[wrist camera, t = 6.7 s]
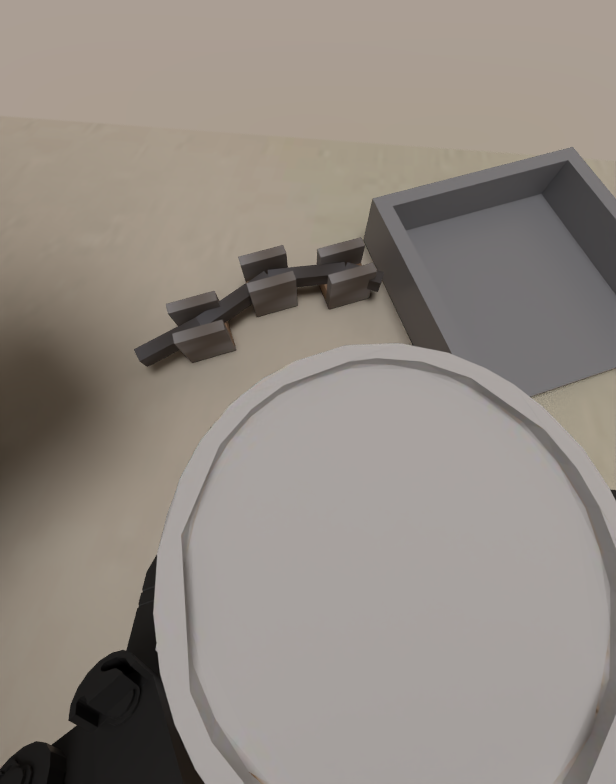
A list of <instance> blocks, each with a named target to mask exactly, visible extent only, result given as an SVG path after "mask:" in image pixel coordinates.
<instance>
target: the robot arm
mask: <svg viewBox="0 0 616 784" xmlns="http://www.w3.org/2000/svg"><path fill="white" fill-rule="evenodd" d="M611 492H612V494H613V496H614V498H615V500H616V490H611ZM156 567H157V555H156V557H155V559H154V561H153V562H152V564H151V566H150V567H149V569H148V571H147V573H146V577H145V581H144V585H143V589H142V590H143V593H141V596H140V600H139V608H137V612H136V616H135V620H134V623H133V627H132V631H131V635H130V639H129V643H128V647H127V651H125V650H121V651H117V652H113V653H111V654H109V655H108V656H106V657H105V658H103V659H102V660H100V661H99V662H98V663H97V664H96V665H95V666H94V667H93V668H92V669H91V670H90V671H89V672H88V674H87V675H86V677H85V678H84V680H83V681H82V683H81V684H80V685H79V687H78V689H77V691H76V693H75V696H74V698H73V700H72V703H71V706H70V713H69V721H71V722H72V723H74V724H76V725H77V726H76V727H74V728H73V729H72V730H70V731H69V732H68V733H67V734H65V735H64V736H63V737H61V738H60V739H59V740H57V741H56V742H55V743H53V744H52V745H49V744H47V743H44V742H37V741H36V742H34V743H31V744H29V745H27V746H24V747H23V748H22V749H20V750H19V751H18V752H17V753H16V754H14V755H13V756H12V757H11V758H9V759H8V761H7V762H6V763H5V764H4V765H3V766H2V768H1V769H0V784H205V783H204V781H203V780H202V778H201V777H200V776H199V774H198V773H197V771H196V770H195V768H194V765H193V763H192V761H191V759H190V757H189V755H188V752H187V750H186V748H185V746H184V744H183V741H182V739H181V737H180V735H179V733H178V730H177V728H176V726H175V724H174V720H173V717H172V713H171V710H170V706H169V703H168V699H167V696H166V692H165V689H164V685H163V682H162V678H161V675H160V669H159V660H158V651H157V642H156V633H155V624H154V615H153V611H154V596H155V581H156Z"/></svg>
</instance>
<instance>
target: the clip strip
mask: <svg viewBox="0 0 616 784" xmlns="http://www.w3.org/2000/svg"><path fill="white" fill-rule="evenodd" d="M364 247H365V245H364V243H363V240H362V238H361V237H360V238H356V239H353V240H349V241H345V242H342V243H338V244H334V245H330V246H327V247H323V248H319V249H317V265H310V266H300V267H291V268H288V266H287V256H286V251H285V249H284V246H283V245H281V246H277V247H274V248H270V249H266V250H262V251H259V252H255V253H251V254H247V255H243V256H240V257H238V258H239V261H240V265H241V268H242V271H243V274H244V278H245V281H246V284H244V285H243V286H241V287H240V288H238V289H237V290H235V291H234V292H232V293H231V294H229V295H228V296H226V297H225V298H223V299H222V300H221V301H219V299H218V297H217V295H216V293H215V291H212V292H208V293H204V294H201V295H197V296H193V297H190V298H186V299H182V300H179V301H175V302H172V303H168V304H166V307H167V312H168V314H169V316H170V317H171V318H172V319H173V320H174V322H175V323H176V324H177V325H178V327H176V328H174V329H172V330H170V331H168V332H167V333H165V334H163V335H161V336H159V337H157V338H155V339H153V340H151V341H149V342H147V343H145V344H143V345H142V346H140V347H138V348H136V349H134V351H135V353H136V355H137V357H138V359H139V361H140V362H141V363H143V364H144V365H145V366H147V367H148V366H150V365H152V364H154V363H156V362H158V361H160V360H161V359H163V358H165V357H167V356H169V355H171V354H173V353H175V352H176V351H178V350H181V351H182V352H183V354H184V355H185V356H186V357H187V358H188V359H189V360H190V361H191V362H192V363H194V362H197V361H200V360H204V359H207V358H211V357H214V356H217V355H221V354H224V353H228V352H231V351H234V350H236V348H235V344H234V341H233V337H232V334H231V330H230V327H229V323H228V320H230V319H231V318H233V317H234V316H235V315H237V314H238V313H240V312H241V311H243V310H244V309H245V308H247V307H248V306H250V305H251V304H253V306H254V309H255V313H256V316H257V317H259V316H262V315H266V314H270V313H273V312H277V311H280V310H284V309H287V308H291V307H294V306H298V302H297V287H304V286H314V285H319V286H320V288H321V291H322V293H323V296H324V298H325V301H326V303H327V306H328V308H329V309H332V308H336V307H339V306H343V305H346V304H350V303H353V302H356V301H360V300H363V299H367V298H369V295H370V292H371V290H372V291H376V292H378V290H379V287H380V284H381V281H382V278H383V275H384V272H381V271H377V270H376V268H375V266H374V264H373V263H370V264H366V265H362V264H361V260H362V256H363V252H364Z"/></svg>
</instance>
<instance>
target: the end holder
mask: <svg viewBox="0 0 616 784" xmlns="http://www.w3.org/2000/svg"><path fill="white" fill-rule="evenodd" d="M364 242H365V245H366V247H367V249H368V251H369V253H370V255H371V257H372V259H373V261H374V264H375V266H376V268H377V270H378V271H381V272H384V275H383V278H382V280H383V283H384V285H385V287H386V289H387V291H388V293H389V295H390V297H391V299H392V302H393V304H394V306H395V308H396V310H397V312H398V314H399V316H400V318H401V320H402V323H403V325H404V327H405V329H406V331H407V333H408V335H409V337H410V339H411V342H412V344H413V346H416V347H421V348H426V349H432V350H437V351H442V352H447V353H450V354H452V355H455V356H457V357H460V358H462V359H464V360H467V361H469V362H472V363H474V364H477V365H479V366H481V367H484V368H486V369H488V370H490V371H491V372H493V373H495V374H497V375H498V376H500V377H502V378H504V379H505V380H507V381H509V382H511V383H512V384H514V385H515V386H517V387H518V388H519V389H520V390H522V391H523V392H524V393H526V394H527V395H528V396H529V397H532V396H535V395H538V394H541V393H544V392H547V391H550V390H553V389H556V388H559V387H562V386H565V385H568V384H571V383H574V382H577V381H580V380H583V379H586V378H588V377H591V376H594V375H597V374H600V373H603V372H606V371H609V370H612V369H615V368H616V199H615V197H614V196H613V195H612V194H611V193H610V191H609V190H608V189H607V188H606V186H605V185H604V184H603V183H602V182H601V180H600V179H599V178H598V177H597V176H596V174H595V173H594V172H593V171H592V170H591V168H590V167H589V166H588V165H587V164H586V162H585V161H584V160H583V159H582V157H581V156H580V155H579V154H578V153H577V151H576V150H575V149H574V148H573V147H570V148H567V149H563V150H559V151H556V152H552V153H547V154H543V155H540V156H536V157H532V158H528V159H524V160H520V161H516V162H512V163H509V164H505V165H501V166H497V167H493V168H489V169H485V170H481V171H478V172H474V173H470V174H466V175H462V176H458V177H454V178H450V179H447V180H443V181H439V182H435V183H431V184H427V185H423V186H419V187H416V188H412V189H408V190H404V191H400V192H396V193H392V194H389V195H385V196H381V197H377V198H373V199H372V204H371V208H370V213H369V217H368V222H367V226H366V231H365V235H364Z"/></svg>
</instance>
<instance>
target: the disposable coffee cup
mask: <svg viewBox="0 0 616 784" xmlns="http://www.w3.org/2000/svg"><path fill="white" fill-rule="evenodd" d="M153 615H154V624H155V633H156V642H157V651H158V660H159V669H160V675H161V678H162V682H163V685H164V689H165V692H166V696H167V699H168V703H169V706H170V710H171V713H172V717H173V720H174V724H175V726H176V728H177V730H178V733H179V735H180V737H181V739H182V741H183V744H184V746H185V748H186V750H187V752H188V755H189V757H190V759H191V761H192V763H193V765H194V768H195V770H196V771H197V773H198V774H199V776H200V777H201V778H202V780H203V781H204V783H205V784H616V500H615V498H614V496H613V494H612V492H611V490H610V488H609V487H608V485H607V484H606V482H605V481H604V479H603V478H602V476H601V475H600V473H599V472H598V470H597V469H596V467H595V465H594V464H593V462H592V461H591V459H590V458H589V456H588V455H587V453H586V452H585V450H584V449H583V448H582V447H581V445H580V444H579V443H578V442H577V441H576V440H575V439H574V438H573V437H572V436H571V435H570V434H569V433H568V432H567V431H566V430H565V429H564V428H563V427H562V426H561V425H560V424H559V423H558V422H557V421H556V420H555V419H554V418H553V417H552V415H551V414H550V413H549V412H548V411H547V410H546V409H545V408H544V407H542V406H541V405H540V404H539V403H537V402H536V401H535V400H533V399H532V398H531V397H529V396H528V395H527V394H526V393H524V392H523V391H522V390H520V389H519V388H518V387H517V386H515V385H514V384H512V383H511V382H509V381H507V380H505V379H504V378H502V377H500V376H498V375H497V374H495V373H493V372H491V371H490V370H488V369H486V368H484V367H481V366H479V365H477V364H474V363H472V362H469V361H467V360H464V359H462V358H460V357H457V356H455V355H452V354H450V353H447V352H442V351H437V350H432V349H426V348H421V347H416V346H411V345H406V344H401V343H391V344H363V345H345V346H342V347H339V348H335V349H332V350H329V351H326V352H323V353H319V354H316V355H313V356H310V357H307V358H304V359H300V360H297V361H294V362H291V363H289V364H288V365H286V366H285V367H283V368H282V369H280V370H278V371H276V372H274V373H272V374H270V375H268V376H267V377H265V378H263V379H261V380H260V381H259V382H257V383H256V384H255V385H254V386H252V387H251V388H250V389H249V390H247V391H246V392H245V393H244V394H242V395H241V396H240V397H239V398H237V399H236V400H235V401H234V402H232V403H231V404H230V405H229V406H228V407H227V408H226V410H225V411H224V412H223V413H222V415H221V416H220V417H219V418H218V419H217V421H216V422H215V423H214V424H213V426H212V427H211V428H210V429H209V430H208V432H207V433H206V434H205V435H204V437H203V438H202V439H201V440H200V442H199V444H198V446H197V448H196V449H195V451H194V453H193V455H192V457H191V459H190V461H189V462H188V464H187V466H186V468H185V470H184V472H183V474H182V475H181V477H180V480H179V483H178V486H177V489H176V492H175V495H174V498H173V500H172V503H171V505H170V508H169V511H168V514H167V518H166V521H165V525H164V529H163V533H162V537H161V541H160V545H159V549H158V552H157V567H156V581H155V596H154V611H153Z"/></svg>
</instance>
